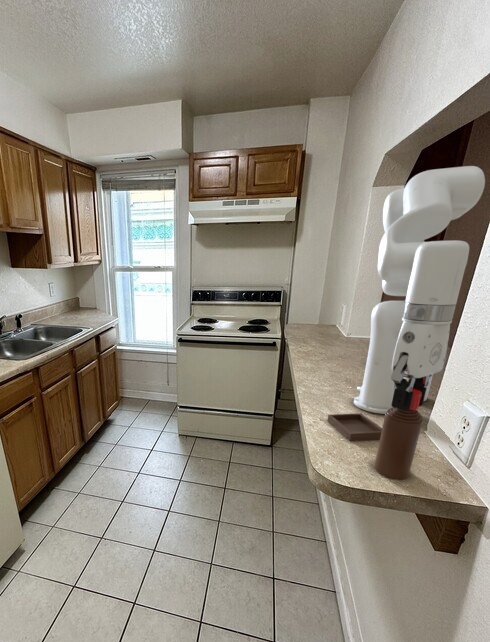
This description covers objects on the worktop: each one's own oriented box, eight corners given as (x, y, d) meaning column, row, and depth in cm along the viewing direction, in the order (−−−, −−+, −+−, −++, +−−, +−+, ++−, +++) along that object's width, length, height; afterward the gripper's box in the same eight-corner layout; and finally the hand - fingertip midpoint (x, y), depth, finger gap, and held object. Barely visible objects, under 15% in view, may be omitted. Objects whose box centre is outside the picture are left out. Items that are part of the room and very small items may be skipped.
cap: (411, 412, 68) (415, 396, 67) (390, 405, 71) (394, 389, 70) (422, 407, 70) (426, 391, 68) (401, 400, 73) (405, 385, 72)
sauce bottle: (367, 462, 79) (383, 388, 72) (395, 460, 79) (413, 386, 73) (386, 480, 73) (404, 401, 66) (416, 478, 73) (437, 399, 67)
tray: (327, 421, 99) (328, 414, 99) (359, 419, 100) (360, 413, 99) (349, 440, 89) (350, 433, 88) (385, 438, 89) (387, 431, 88)
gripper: (426, 319, 57) (403, 422, 63) (473, 312, 65) (449, 404, 71) (380, 314, 64) (363, 408, 70) (428, 308, 71) (409, 393, 77)
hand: (406, 405), depth 70 cm, fingers closed on cap, 3 cm apart
